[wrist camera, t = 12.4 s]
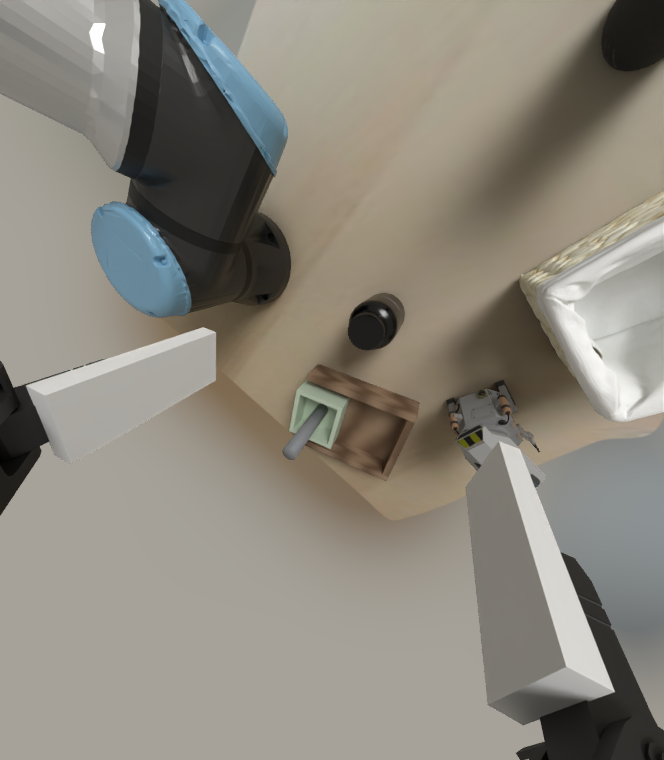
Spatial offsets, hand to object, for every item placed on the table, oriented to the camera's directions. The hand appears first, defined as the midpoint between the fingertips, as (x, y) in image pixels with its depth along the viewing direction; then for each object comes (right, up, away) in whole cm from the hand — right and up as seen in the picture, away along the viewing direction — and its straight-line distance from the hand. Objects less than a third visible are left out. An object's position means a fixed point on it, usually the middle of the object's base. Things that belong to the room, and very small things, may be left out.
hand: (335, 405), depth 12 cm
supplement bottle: (+8, +12, +32) cm, 35 cm away
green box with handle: (-2, -4, +42) cm, 43 cm away
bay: (+5, -6, +42) cm, 43 cm away
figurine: (+25, -4, +33) cm, 42 cm away
